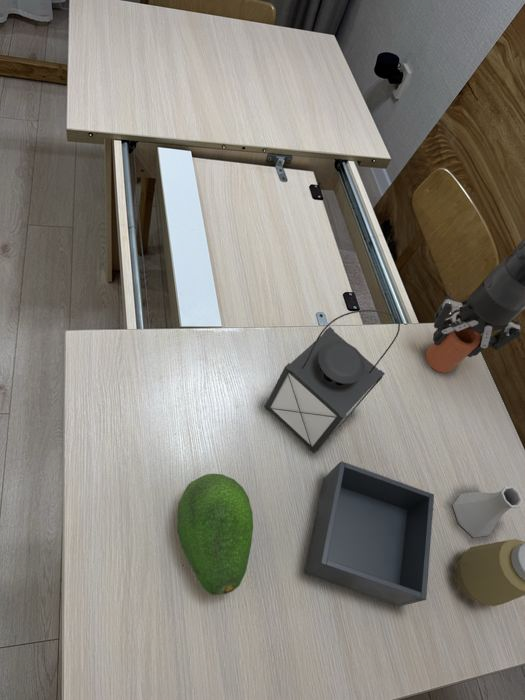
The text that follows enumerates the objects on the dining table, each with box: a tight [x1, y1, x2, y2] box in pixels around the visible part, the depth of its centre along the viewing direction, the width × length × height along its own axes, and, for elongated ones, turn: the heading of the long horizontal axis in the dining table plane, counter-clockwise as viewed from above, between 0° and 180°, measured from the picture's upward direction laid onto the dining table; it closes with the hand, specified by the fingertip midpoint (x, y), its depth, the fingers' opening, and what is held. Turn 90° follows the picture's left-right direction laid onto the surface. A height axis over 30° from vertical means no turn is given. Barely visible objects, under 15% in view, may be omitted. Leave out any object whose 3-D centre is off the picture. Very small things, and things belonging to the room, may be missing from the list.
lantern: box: [264, 309, 401, 454], centre depth 74 cm, size 11×11×28 cm
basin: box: [303, 460, 435, 607], centre depth 72 cm, size 14×14×8 cm
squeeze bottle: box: [454, 538, 525, 607], centre depth 68 cm, size 8×8×18 cm
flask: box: [452, 485, 524, 538], centre depth 77 cm, size 7×7×10 cm
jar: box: [425, 320, 481, 374], centre depth 93 cm, size 6×6×9 cm
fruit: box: [176, 473, 254, 596], centre depth 66 cm, size 15×10×10 cm, turn 6°
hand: (452, 346), depth 93 cm, fingers closed on jar, 6 cm apart
